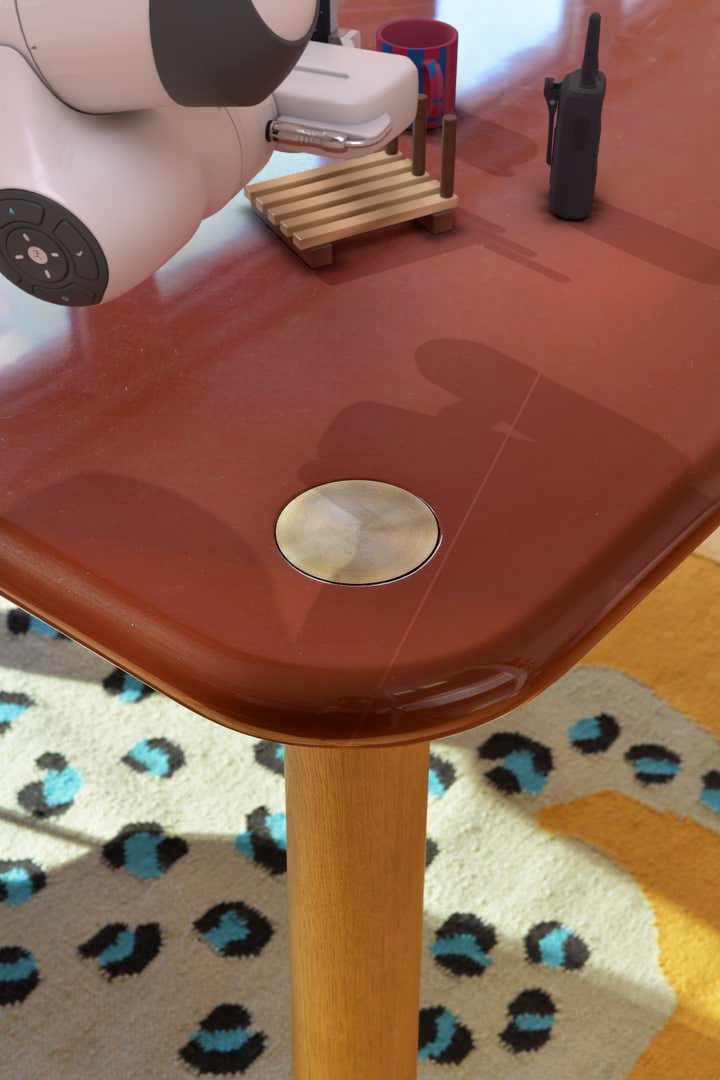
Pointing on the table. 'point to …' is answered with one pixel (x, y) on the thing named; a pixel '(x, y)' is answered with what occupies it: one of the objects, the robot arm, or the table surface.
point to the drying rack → (360, 194)
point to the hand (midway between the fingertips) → (297, 32)
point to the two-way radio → (576, 131)
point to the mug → (426, 60)
